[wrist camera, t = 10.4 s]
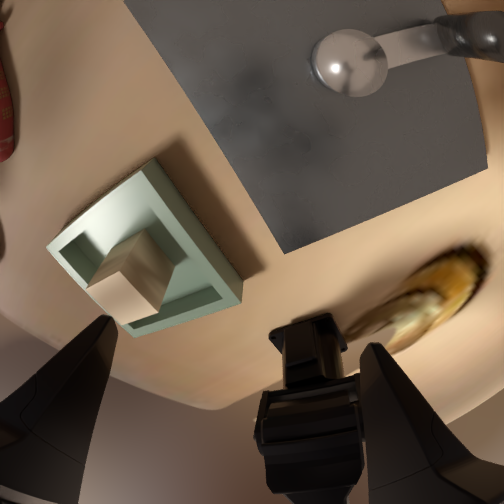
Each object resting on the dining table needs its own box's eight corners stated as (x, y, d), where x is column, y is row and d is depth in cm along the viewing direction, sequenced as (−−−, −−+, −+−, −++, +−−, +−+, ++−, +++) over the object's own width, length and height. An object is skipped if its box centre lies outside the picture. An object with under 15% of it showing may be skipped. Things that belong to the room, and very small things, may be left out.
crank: (329, 102, 14) (365, 123, 9) (299, 45, 12) (321, 31, 7) (465, 59, 11) (532, 72, 6) (444, 7, 9) (509, 1, 4)
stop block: (175, 266, 23) (158, 312, 19) (141, 282, 24) (121, 325, 20) (144, 228, 21) (119, 270, 17) (111, 248, 22) (85, 289, 18)
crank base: (476, 160, 16) (499, 176, 14) (283, 242, 21) (285, 268, 19) (363, -93, 6) (376, -110, 3) (126, -5, 11) (104, -13, 8)
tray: (243, 281, 24) (241, 303, 22) (141, 319, 27) (134, 338, 25) (154, 157, 18) (140, 170, 16) (60, 230, 21) (45, 247, 19)
